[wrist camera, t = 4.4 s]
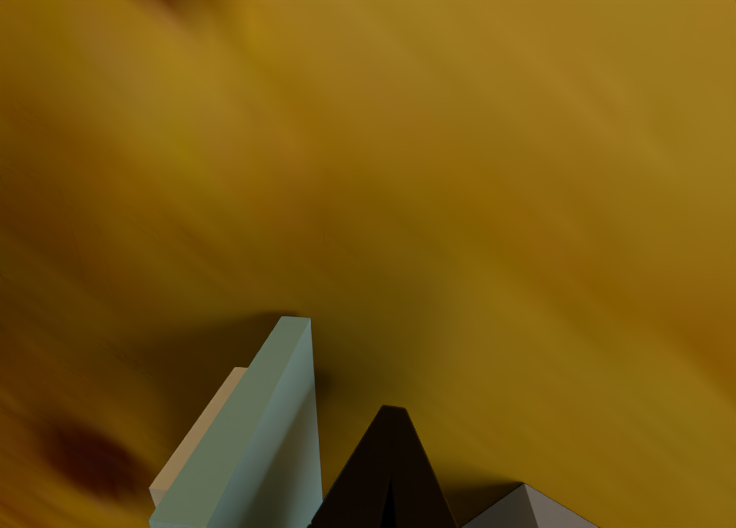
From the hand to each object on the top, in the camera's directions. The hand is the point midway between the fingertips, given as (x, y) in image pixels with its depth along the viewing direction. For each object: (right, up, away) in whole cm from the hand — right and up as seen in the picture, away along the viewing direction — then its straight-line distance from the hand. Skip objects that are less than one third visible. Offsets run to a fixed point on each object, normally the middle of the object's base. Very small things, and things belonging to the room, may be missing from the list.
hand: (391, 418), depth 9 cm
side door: (-3, -5, +4) cm, 7 cm away
